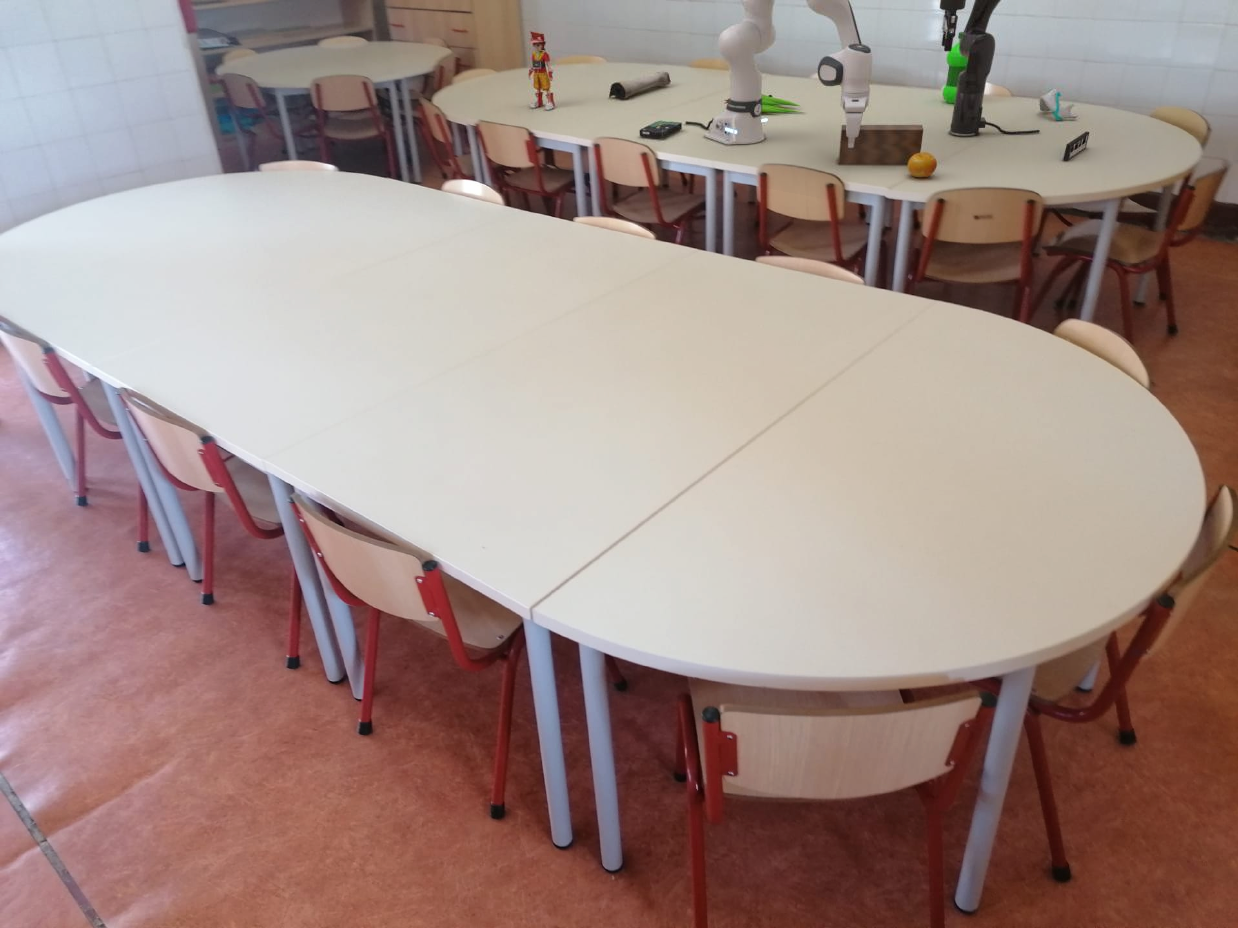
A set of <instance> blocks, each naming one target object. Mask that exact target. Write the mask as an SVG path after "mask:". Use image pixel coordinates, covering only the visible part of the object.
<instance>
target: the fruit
mask: <svg viewBox="0 0 1238 928" xmlns="http://www.w3.org/2000/svg"><path fill="white" fill-rule="evenodd" d="M937 166H938V162H937V159H936V157H935V156H934V155H933V154H931V153H929V152H926V151H925V152H924V151H923V152H920V153H917V154H914V155H913V156H912V157H911V158H910V159H909V162H908V165H907V171H908V172H909V174H910V175H911V176H912V177H914V178H922V179H923V178H927V177H930V176H931V175H933V173H934V172H935V171H936V169H937Z"/></svg>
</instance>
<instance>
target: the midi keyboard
mask: <svg viewBox="0 0 1238 928" xmlns="http://www.w3.org/2000/svg"><path fill="white" fill-rule="evenodd" d="M1090 133H1091V132H1090V131H1085V132H1083V133H1082V134H1080V135H1079V136H1076V138H1074V139H1073V140H1071V141H1069V142H1068V143H1066V145H1065V146H1066V147H1065V150H1064V153H1063V159H1062V160H1063V161H1068V160H1070V158H1072V157H1073V156H1075V155H1077V154H1078V153H1080V152H1081V151H1082V150H1084V149H1086V148H1087V145H1088V140H1089V137H1090Z"/></svg>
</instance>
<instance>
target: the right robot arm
mask: <svg viewBox="0 0 1238 928" xmlns="http://www.w3.org/2000/svg"><path fill="white" fill-rule="evenodd" d="M1001 1H1002V0H974V2H973V5H972V8H971V12H970V14H969V17H968V20H967V22H966V25H965V27H964V29H963V31H962V32H963V34H962V37H961V40H960V44H959V52H960V54H961V56H962V57H964V58H966V59H968V61H967V66H966V69H965V71H963V72H961V73H960V74H959V77H958V83H957V90H956V96H955V103H953V110H952V115H951V122H950V129H949V134H950V135H952V136H956V137H973V136H979V131H980V129H986V126H988V127H989V126H990V127H993V128H995V129H997V130H998V132H1000V133H1002V134H1003V135H1004V134H1005V135H1027V134H1037V133H1041V131H1040V129H1034V130H1033V129H1032V130H1016V131H1007V130H1005V129H1004V130H1003V128H1001V127H1000V126H999V125H997V124H995V123H993V122H988V121H987V119H986V118H985V117H984V116H982V115H983V109H984V107H983V102H984V96H985V90H986V83H987V79H988V77H989V75H990V73H991V70H992V65H993V61H994V57H995V51H996V38H995V36H993V34H992V33H989V32H987V29H988V25H989V22H990V19H991V17H992V14H993V13H994V11H995V10H996V8H997V6H998V5H999V4H1000V2H1001ZM966 2H967V0H940V2H939V9H940V10H941V11H944V14H943V19H942V20H943V22H942V26H941V28H942V40H941V46H942V47H943V50H944V52H949V51H951V50H952V47H953V42H954V39H955V37H956V31H957V25H958V20H959V16H958V14H957V11H961V10H964V9H965V8H966Z"/></svg>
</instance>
